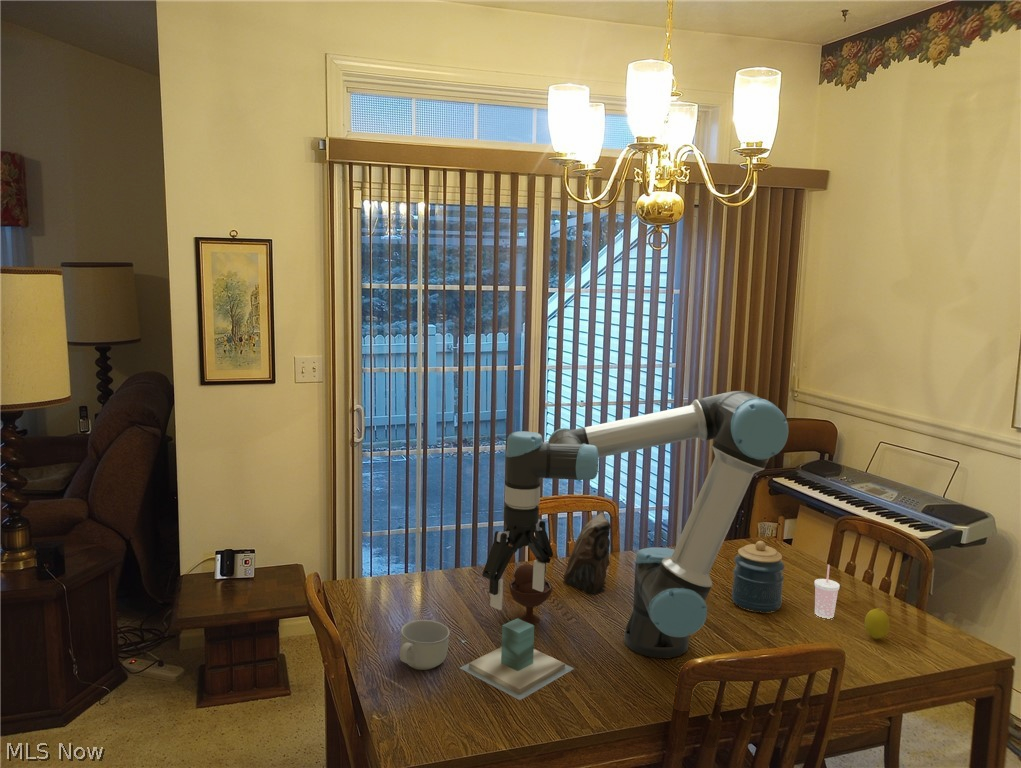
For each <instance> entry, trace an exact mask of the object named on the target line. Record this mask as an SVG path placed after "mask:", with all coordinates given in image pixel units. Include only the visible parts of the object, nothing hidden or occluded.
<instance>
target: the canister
mask: <svg viewBox="0 0 1021 768" xmlns="http://www.w3.org/2000/svg"><path fill="white" fill-rule="evenodd" d="M737 553H738V554H737V555H735V556H734V559H733V561H734V562H735V567H734V568H733V571H732V573H733V583H732V590H731V600H733V601H732V603H733V602H734V603H735V604H737V605H738V606H740V607H742V608H745V609H749V610H753V611H759V612H760V611H761V612H771V611H776V610H778V609H779V608H780V609H781V606H782V603H783V597H782V596H783V594H782V593H783V585H784V584H783V582H784V579H785V577H784V574H783V571H784V570H785V567H786V564H785V563H784V562H783V560H782V559H783V555H782V554H781V553H780V552H779V551H777V549H775V548H774V547H771V546H768V545H766V543H765V542H764V541H763V540H758V541H756V543H755V544H754V543H752V544H751V543H749V544H747V545H744V546H741V547H740V548H739V549H738V550H737ZM734 603H733V604H734ZM735 604H734V605H735ZM737 605H736V606H737ZM738 606H737V607H738ZM740 607H739V608H740ZM742 608H741V609H742ZM780 609H779V610H780ZM779 610H778V611H779ZM776 612H777V611H776Z"/></svg>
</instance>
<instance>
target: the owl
mask: <svg viewBox="0 0 1021 768" xmlns="http://www.w3.org/2000/svg"><path fill="white" fill-rule="evenodd" d="M611 528H612V526H611V523H610V521H609V519H608V518H606V515H605V513H604V512H603V511H601V512H600V513H599V514H597V515H596V516H594V517H593V518H591V519H590V520H589V521H588V522H587V523H586V524H585V525H584V526H583V528H582V529H581V531H580V533H579V535H578V537H577V538H576V539H575V543H574V547H573V548H572V551H571V553H570V555H569V558H568V562H567V566H566V569H565V572H564V574H563V581H562V583H563V584H565V585H568V586H571V587H572V588H575V589H576V590H578V591H582V592H584V593H586V594H588V595H592V596H593V595H594V596H595V595H599V594H601V593H604V592H605V589H604V588H606V586H605V585H606V584H607V583H606V577H607V569H608V567H609V566H610V563H611V561H610V545H611V541H610V538H609V536H610V530H611Z"/></svg>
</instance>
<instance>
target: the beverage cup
mask: <svg viewBox="0 0 1021 768" xmlns="http://www.w3.org/2000/svg"><path fill="white" fill-rule="evenodd" d="M830 569H831V568H830V564H827V571H826V578H817V579H815V580H814V588H815V589H814V590H815V591H814V615H815V614H816V615H817V616H819V617H822V618H827V619H830V618H833V617H835V611H836V604H837V599H838V592H839V589H840V583H838V582H837V581H835V580H833V579H829V578H830V577H829V576H830ZM817 616H816V617H817ZM833 619H834V618H833Z"/></svg>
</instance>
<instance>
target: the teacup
mask: <svg viewBox="0 0 1021 768" xmlns="http://www.w3.org/2000/svg"><path fill="white" fill-rule="evenodd" d="M450 634H451V630H450V629H449V627H448V626H446V625H445V624H443V623H441V621H440V622H439V621H437V620H430V619H417V620H416V619H415V620H413V621H409V622H407V623H405V624H403V626H402V627H401V629H400V650H399V655H398V657H399V659H400V661H401V662H402V663H405V664H407V666H409V667H410V668H413V669H414V670H419V671H420V670H421V671H424V670H425V671H427V670H431V669H434V668H436V667H438V666H440V665H441V664H442V663H444V661H445V660H446V658H447V655H448V648H449V638H450Z"/></svg>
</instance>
